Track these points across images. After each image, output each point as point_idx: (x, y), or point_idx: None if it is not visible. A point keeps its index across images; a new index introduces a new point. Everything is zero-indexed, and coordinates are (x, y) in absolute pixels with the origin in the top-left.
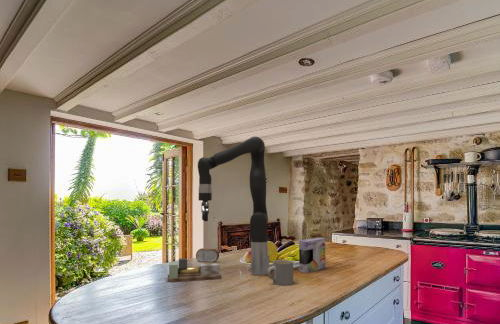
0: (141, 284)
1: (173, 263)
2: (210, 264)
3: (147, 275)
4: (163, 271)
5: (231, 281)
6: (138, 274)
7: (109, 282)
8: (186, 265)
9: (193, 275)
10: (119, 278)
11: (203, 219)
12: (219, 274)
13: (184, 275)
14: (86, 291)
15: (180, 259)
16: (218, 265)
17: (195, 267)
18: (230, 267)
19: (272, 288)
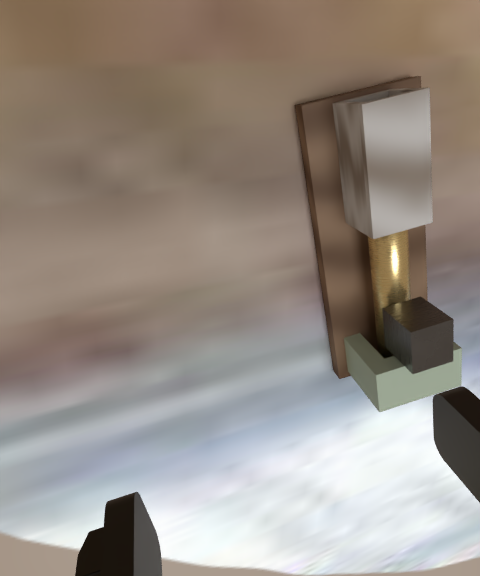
0: (428, 427)
1: (420, 380)
2: (396, 161)
3: (278, 464)
4: (193, 431)
5: (476, 3)
6: (255, 503)
7: (376, 533)
8: (430, 306)
9: None
10: (320, 533)
11: (151, 538)
12: (393, 89)
13: (368, 296)
14: (472, 534)
15: (443, 357)
16: (427, 97)
17: (403, 254)
18: (35, 2)
19: None
